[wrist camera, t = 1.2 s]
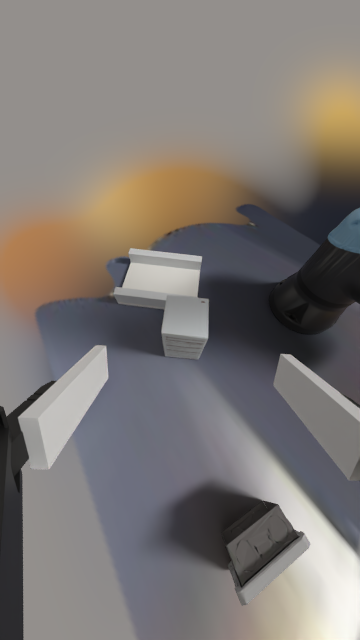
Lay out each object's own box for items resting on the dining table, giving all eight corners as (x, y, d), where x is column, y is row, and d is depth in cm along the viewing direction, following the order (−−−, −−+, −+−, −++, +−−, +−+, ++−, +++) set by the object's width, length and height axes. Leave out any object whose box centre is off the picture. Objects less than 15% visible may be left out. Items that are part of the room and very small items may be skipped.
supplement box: (168, 326, 41) (166, 293, 30) (200, 329, 41) (210, 297, 30) (163, 357, 38) (159, 333, 26) (198, 361, 37) (209, 338, 26)
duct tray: (199, 267, 50) (201, 256, 46) (195, 313, 43) (197, 304, 39) (133, 260, 50) (130, 248, 47) (118, 303, 43) (113, 293, 40)
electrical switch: (230, 572, 24) (253, 638, 16) (210, 522, 26) (222, 558, 19) (283, 528, 26) (326, 566, 18) (260, 485, 29) (289, 503, 21)
